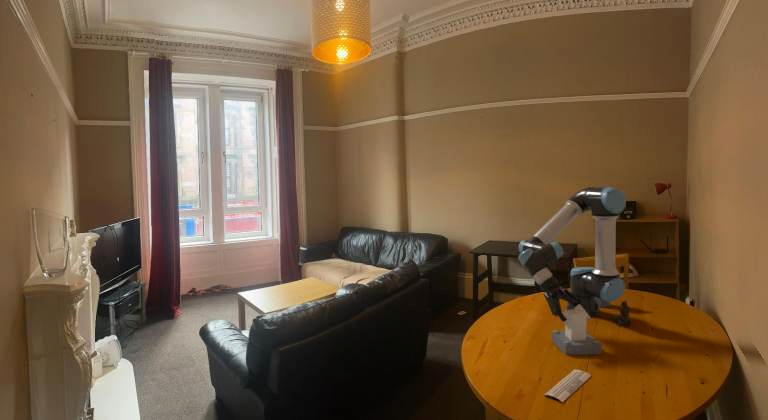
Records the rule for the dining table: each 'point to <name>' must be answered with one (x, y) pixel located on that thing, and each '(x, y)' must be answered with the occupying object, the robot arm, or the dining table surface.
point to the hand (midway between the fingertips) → (580, 323)
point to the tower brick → (576, 325)
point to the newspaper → (568, 385)
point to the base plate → (576, 344)
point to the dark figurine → (623, 315)
